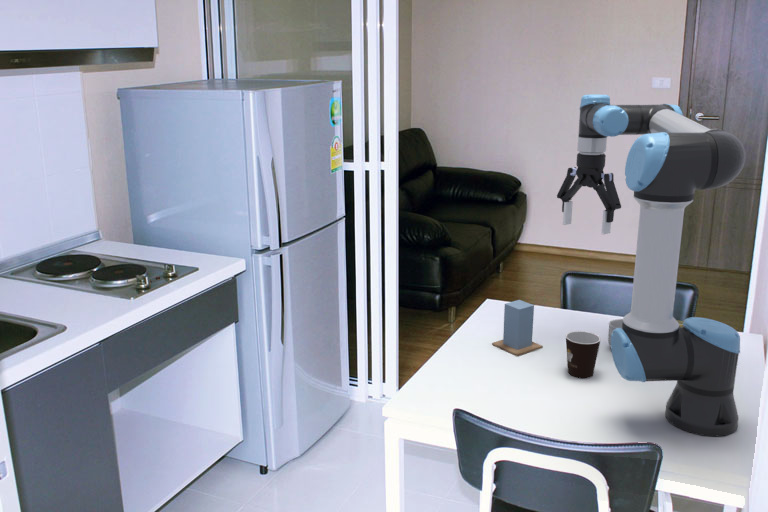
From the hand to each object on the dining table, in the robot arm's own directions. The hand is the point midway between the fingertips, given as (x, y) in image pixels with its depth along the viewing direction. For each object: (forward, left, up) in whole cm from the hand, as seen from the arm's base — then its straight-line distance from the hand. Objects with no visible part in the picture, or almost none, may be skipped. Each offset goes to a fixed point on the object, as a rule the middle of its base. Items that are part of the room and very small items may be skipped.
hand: (585, 228), depth 201 cm
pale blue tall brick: (-15, +13, -32) cm, 38 cm away
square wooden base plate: (-15, +13, -33) cm, 38 cm away
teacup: (-3, -16, -33) cm, 37 cm away
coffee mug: (-22, -7, -33) cm, 40 cm away
